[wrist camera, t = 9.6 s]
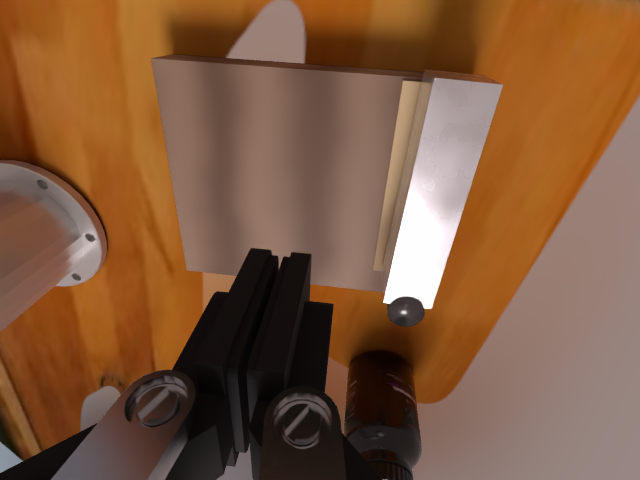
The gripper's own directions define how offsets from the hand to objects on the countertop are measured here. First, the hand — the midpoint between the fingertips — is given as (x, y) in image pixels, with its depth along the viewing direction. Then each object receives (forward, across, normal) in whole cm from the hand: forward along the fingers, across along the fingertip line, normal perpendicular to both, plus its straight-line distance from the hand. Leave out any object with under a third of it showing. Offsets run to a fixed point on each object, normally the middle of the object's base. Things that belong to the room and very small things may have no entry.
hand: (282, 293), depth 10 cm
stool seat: (+19, +1, +4) cm, 19 cm away
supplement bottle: (+19, -7, +25) cm, 32 cm away
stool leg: (+15, -7, +3) cm, 17 cm away
